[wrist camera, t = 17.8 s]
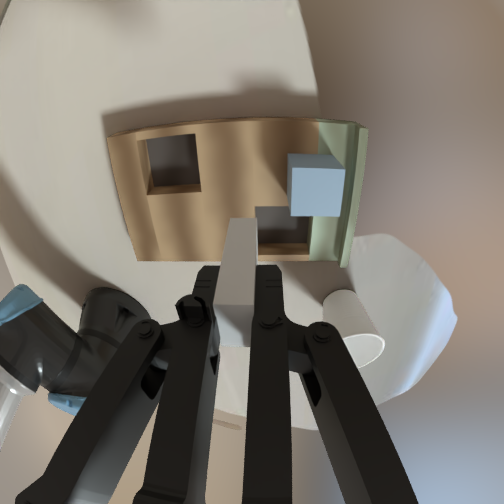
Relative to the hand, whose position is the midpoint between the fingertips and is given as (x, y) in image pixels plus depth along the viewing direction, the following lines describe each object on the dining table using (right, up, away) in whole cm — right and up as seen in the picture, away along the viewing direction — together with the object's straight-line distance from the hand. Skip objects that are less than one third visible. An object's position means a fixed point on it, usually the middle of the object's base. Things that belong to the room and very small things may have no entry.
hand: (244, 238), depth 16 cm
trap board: (-2, +7, +18) cm, 19 cm away
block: (+7, +8, +13) cm, 17 cm away
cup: (+15, -9, +29) cm, 34 cm away
